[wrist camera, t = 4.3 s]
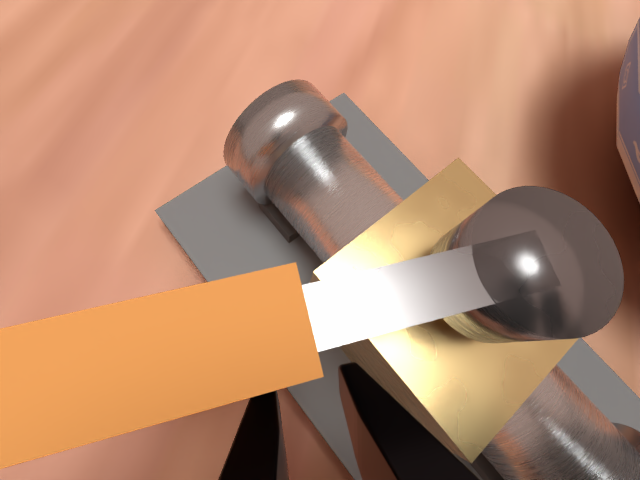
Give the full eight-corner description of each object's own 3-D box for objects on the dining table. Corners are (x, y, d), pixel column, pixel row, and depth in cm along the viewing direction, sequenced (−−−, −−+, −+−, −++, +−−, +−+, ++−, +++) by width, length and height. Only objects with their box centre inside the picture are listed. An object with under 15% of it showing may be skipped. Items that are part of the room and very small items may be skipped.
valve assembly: (629, 415, 17) (940, 468, 9) (470, 632, 14) (733, 1026, 6) (340, 110, 21) (373, -41, 13) (165, 221, 18) (66, 112, 10)
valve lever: (507, 217, 10) (585, 169, 8) (556, 326, 9) (663, 314, 7) (59, 319, 8) (-48, 301, 6) (65, 470, 7) (-62, 536, 5)
